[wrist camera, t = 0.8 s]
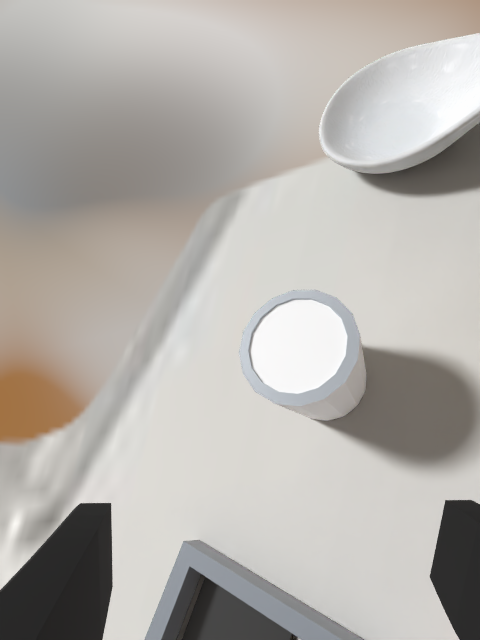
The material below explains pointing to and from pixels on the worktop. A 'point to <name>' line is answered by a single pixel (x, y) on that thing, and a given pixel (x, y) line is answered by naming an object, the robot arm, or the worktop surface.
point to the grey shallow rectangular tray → (233, 604)
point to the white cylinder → (305, 354)
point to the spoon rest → (404, 107)
